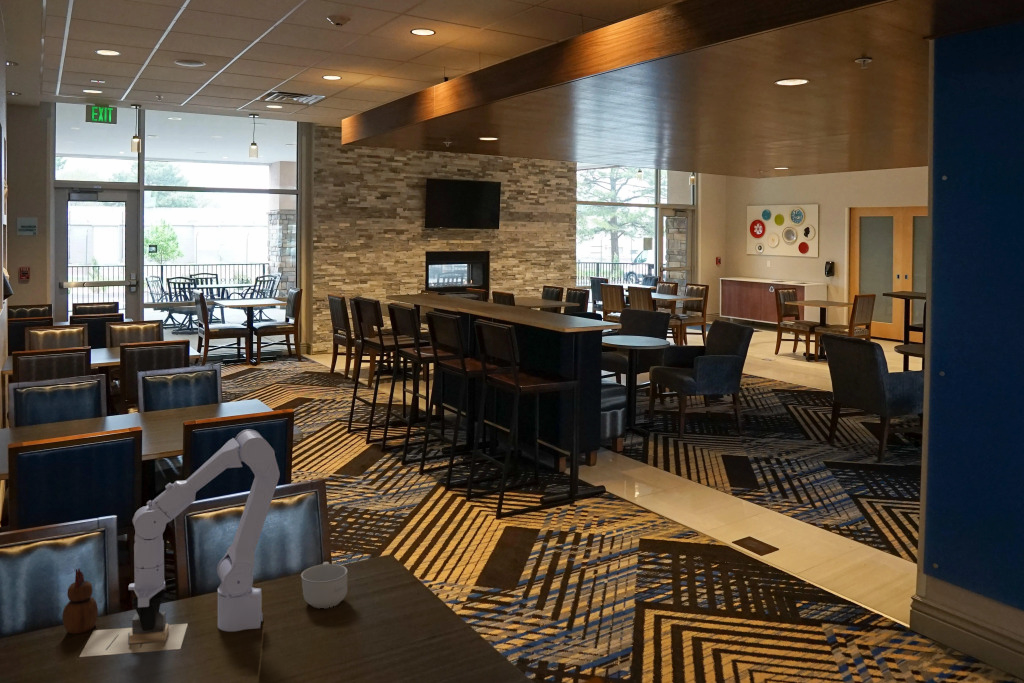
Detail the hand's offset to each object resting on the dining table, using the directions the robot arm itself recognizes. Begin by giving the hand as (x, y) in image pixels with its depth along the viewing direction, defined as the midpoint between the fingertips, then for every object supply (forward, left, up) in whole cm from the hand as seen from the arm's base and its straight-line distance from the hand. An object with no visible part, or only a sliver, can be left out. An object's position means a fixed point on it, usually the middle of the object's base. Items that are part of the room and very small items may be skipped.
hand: (149, 626), depth 173 cm
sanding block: (0, 0, -3) cm, 3 cm away
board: (+3, 0, -4) cm, 5 cm away
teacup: (-37, -16, -4) cm, 40 cm away
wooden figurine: (+15, -8, -4) cm, 18 cm away
